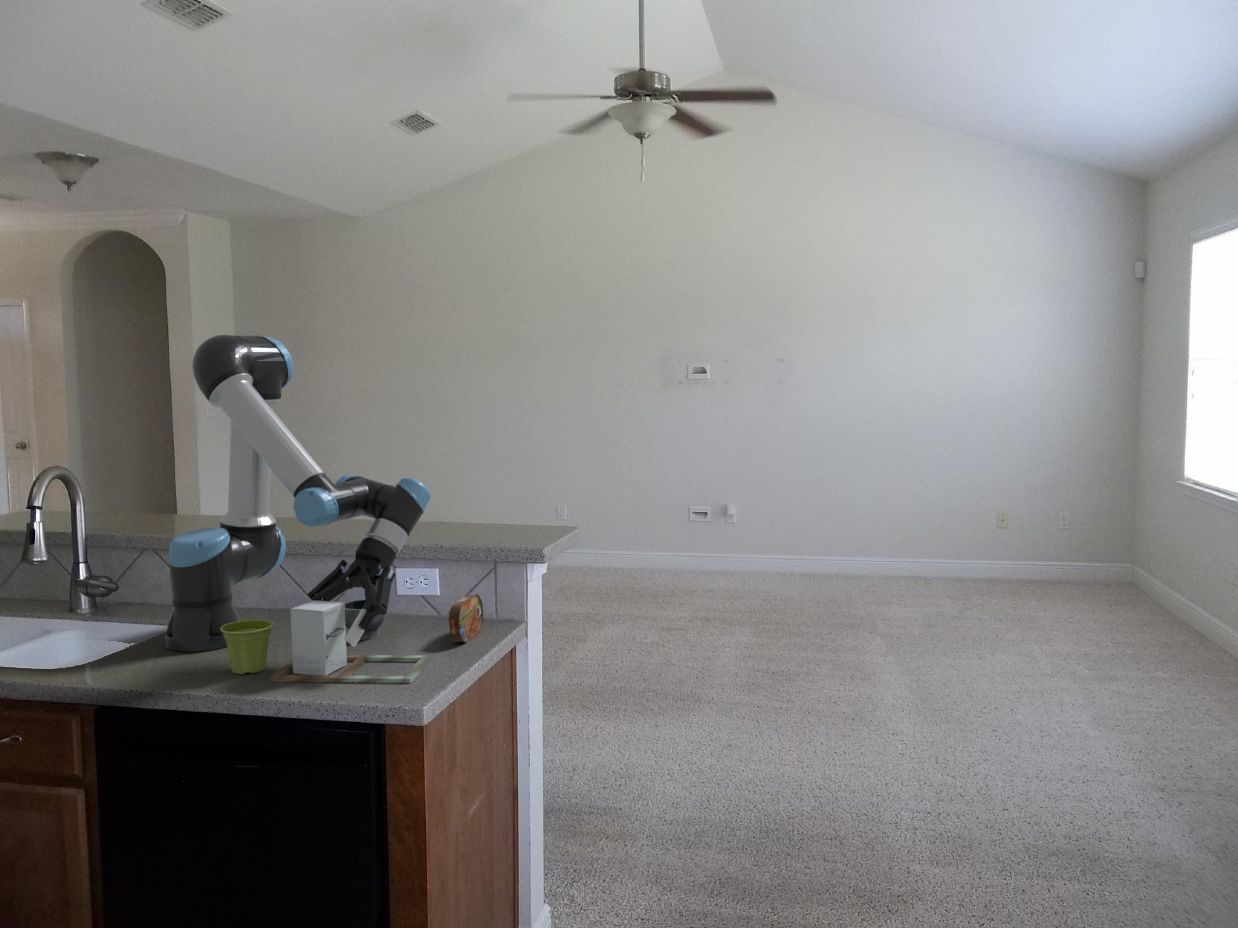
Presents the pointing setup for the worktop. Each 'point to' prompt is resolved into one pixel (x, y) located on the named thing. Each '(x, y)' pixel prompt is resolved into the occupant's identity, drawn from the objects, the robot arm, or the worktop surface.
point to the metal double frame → (358, 662)
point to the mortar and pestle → (352, 612)
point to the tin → (466, 618)
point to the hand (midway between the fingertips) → (324, 637)
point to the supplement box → (318, 637)
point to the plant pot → (247, 644)
